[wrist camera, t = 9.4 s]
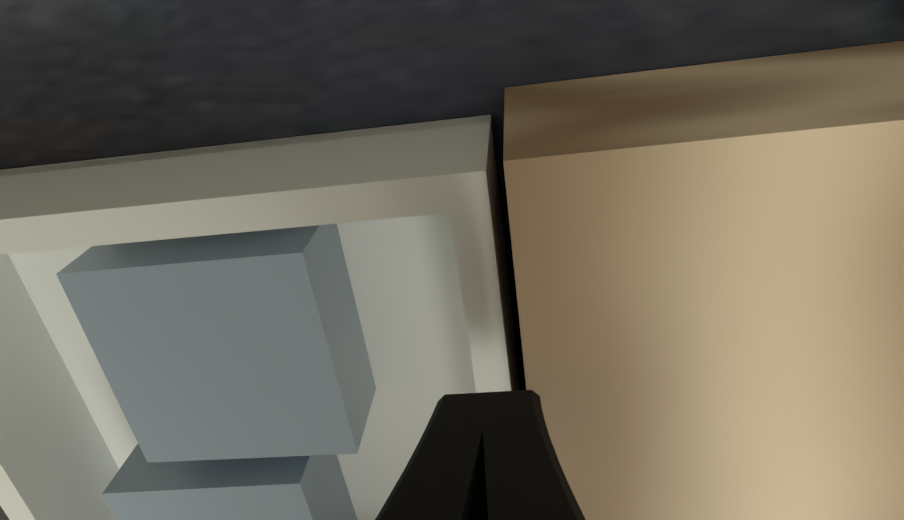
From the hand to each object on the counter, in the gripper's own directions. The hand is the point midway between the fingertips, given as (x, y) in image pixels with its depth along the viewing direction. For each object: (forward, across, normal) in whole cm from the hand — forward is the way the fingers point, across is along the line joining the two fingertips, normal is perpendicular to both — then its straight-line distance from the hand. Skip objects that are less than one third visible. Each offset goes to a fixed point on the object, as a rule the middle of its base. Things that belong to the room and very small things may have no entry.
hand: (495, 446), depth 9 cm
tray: (+5, +5, +3) cm, 8 cm away
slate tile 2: (+2, +7, +5) cm, 9 cm away
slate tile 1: (+2, +5, 0) cm, 6 cm away
